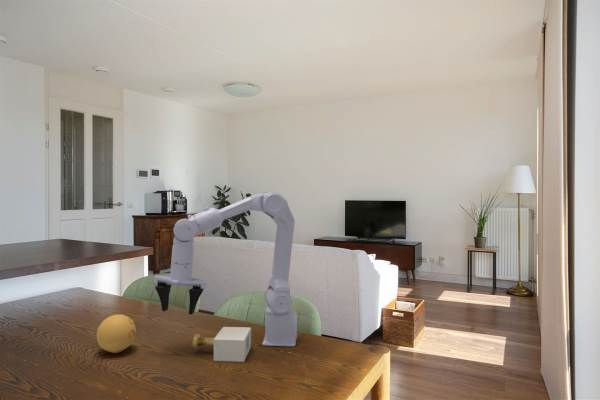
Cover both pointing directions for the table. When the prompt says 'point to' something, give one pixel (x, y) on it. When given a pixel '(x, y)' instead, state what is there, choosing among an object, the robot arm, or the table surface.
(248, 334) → the block
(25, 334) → the table surface
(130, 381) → the table surface
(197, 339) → the pin
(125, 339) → the stress ball
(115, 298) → the table surface
